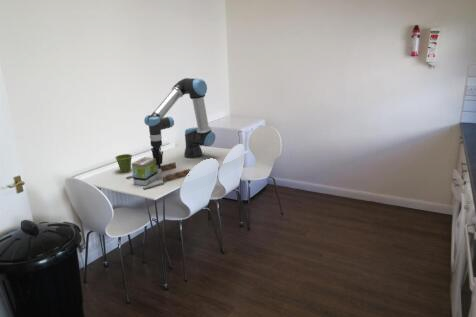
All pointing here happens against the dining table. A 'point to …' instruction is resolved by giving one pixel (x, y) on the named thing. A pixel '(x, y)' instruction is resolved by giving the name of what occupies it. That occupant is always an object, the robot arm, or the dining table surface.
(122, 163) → the plant pot
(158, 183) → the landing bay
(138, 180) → the tea box
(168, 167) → the walnut chute
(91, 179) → the dining table surface
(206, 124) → the robot arm
